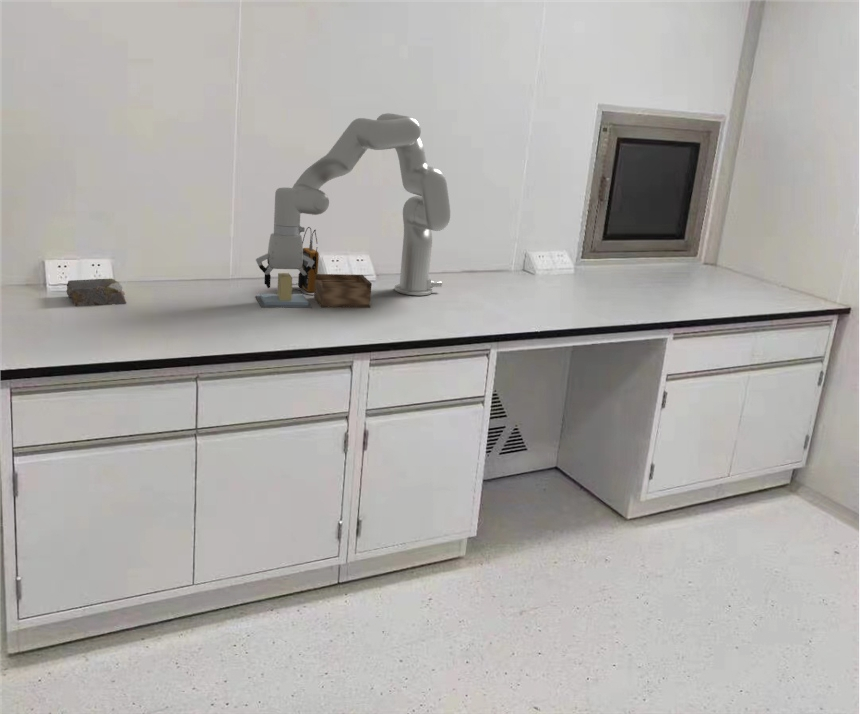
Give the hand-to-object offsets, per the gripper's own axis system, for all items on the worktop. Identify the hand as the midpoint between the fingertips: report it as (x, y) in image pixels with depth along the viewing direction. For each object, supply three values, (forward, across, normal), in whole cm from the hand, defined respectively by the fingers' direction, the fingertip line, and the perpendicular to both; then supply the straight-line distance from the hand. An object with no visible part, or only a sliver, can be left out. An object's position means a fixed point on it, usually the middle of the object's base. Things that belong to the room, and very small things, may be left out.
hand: (284, 287), depth 259 cm
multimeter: (+5, -7, -15) cm, 17 cm away
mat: (+5, 0, 0) cm, 5 cm away
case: (+5, -18, 0) cm, 19 cm away
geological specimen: (+5, +53, -1) cm, 53 cm away
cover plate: (+4, 0, 0) cm, 4 cm away
